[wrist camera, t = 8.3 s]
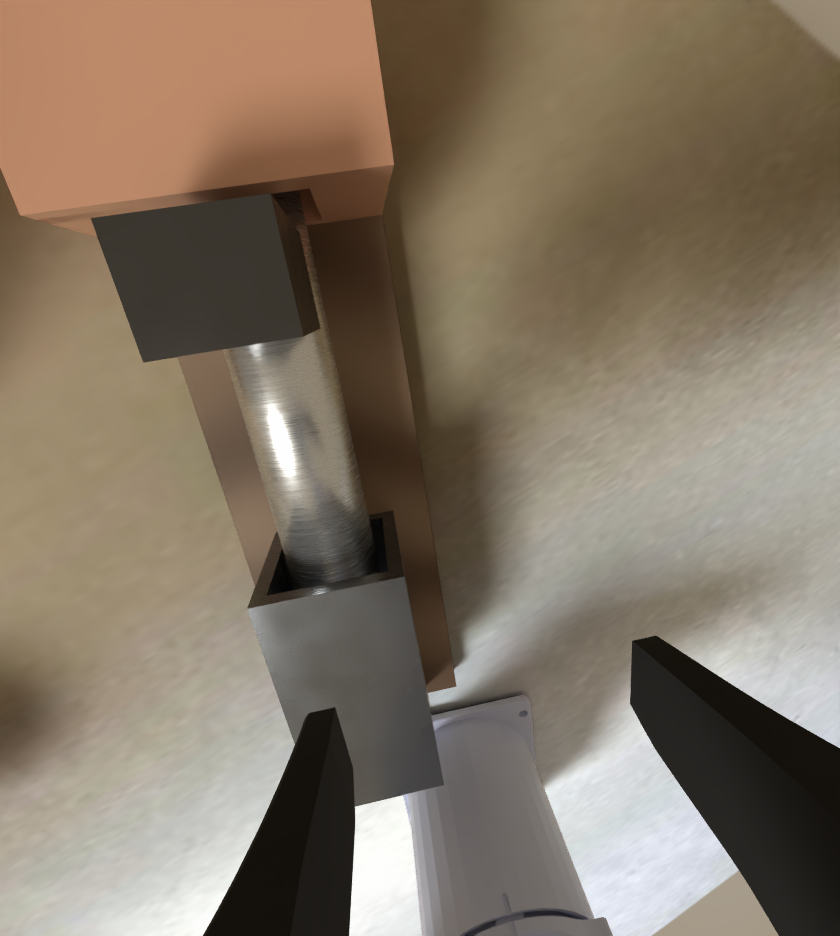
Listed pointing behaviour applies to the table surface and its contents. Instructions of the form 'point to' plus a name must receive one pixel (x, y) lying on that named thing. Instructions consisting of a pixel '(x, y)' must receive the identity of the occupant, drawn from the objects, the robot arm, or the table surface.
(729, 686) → the robot arm
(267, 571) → the metal sleeve
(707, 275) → the table surface
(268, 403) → the steel tube
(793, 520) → the table surface
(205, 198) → the terracotta socket
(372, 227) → the walnut base board
